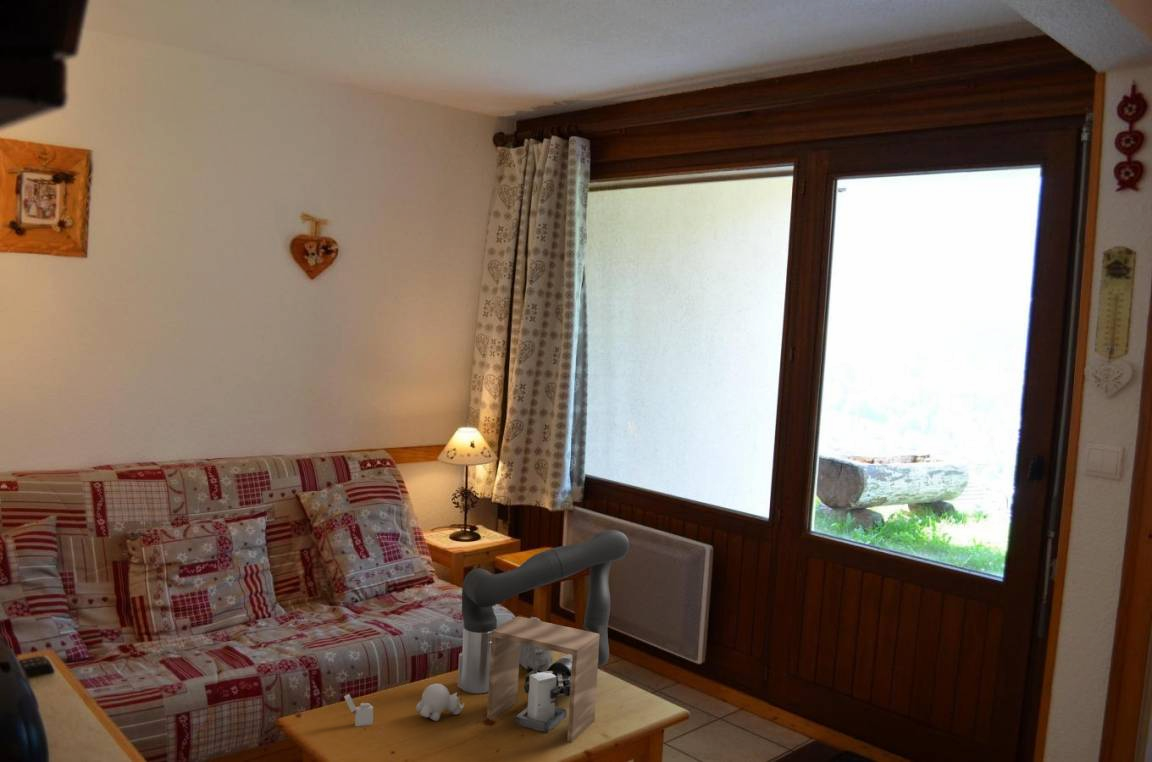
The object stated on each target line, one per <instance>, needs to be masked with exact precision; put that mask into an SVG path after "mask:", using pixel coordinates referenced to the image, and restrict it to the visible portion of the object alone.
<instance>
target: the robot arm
mask: <svg viewBox="0 0 1152 762" xmlns="http://www.w3.org/2000/svg"><path fill="white" fill-rule="evenodd" d="M629 549H630V541H629V538H628V537H627V535H626V534H625V533H623V532H621V531H619V530H616V529H608V530H601V531H599V532H597V533H595V534H594V535H593V537H592V539H590V540H587V541H583V542H580V543H574V544H566V545H562V546H558V547H553V548H550V549H546V550H544V551H540V552H538V553H534V555H532V556H530V557H528V558H527V559H526V560H525V561H524V562H523V563H522V564H521V565H520V566H518V567H515V568H514V569H512V570H508V571H505V572H500V573H495V574H494V573H491V572H490V571H488V570H486V569H485V568H474V569H472V570H470V571H469V572H468V573H467V574H466V576H465V577H464V579H463V583H462V589H461V590H462V591H461V616H462V620H463V629H462V630H463V632H462V651H461V652H460V653H459V655H458V668H457V669H458V671H457V673H458V674H457V688H460V689H461V690H462V691H464V692H466V693H470V694H485V693H488V690H489V671H490V653H491V634H492V630H494V629H496V628H498V627H497V623H498V620H497V617H496V615H495V612H494V609H493V607H494V606H496V605H499V604H500V603H502V602H505V601H507V600H508V599H511V598H514V597H515V596H517V595H519V594H522V593H525V592H528V591H531V590H534V589H537V588H539V587H542V586H546V585H549V584H552V583H555V582H558V581H561V580H563V579H566V578H569V577H570V576H573V575H575V574H577V573H580V572H582V571H584V570H586V569H588V568H589V587H588V594H587V595H588V596H587V603H586V608H585V613H584V619H583V628H584V629H585V631H589V632H593V633H598V634H600V638H599V655H598V668H601V667H603V666H606V664H607V662H608V660H609V658H610V648H609V647H610V646H609V639H608V638H609V637H608V625H609V619H610V612H611V594H610V593H611V592H610V586H609V578H610V577H609V575H610V569H611V565H612V562H616V561H619V560H621V559H622V558H624V557H625V556H626V555H627V553H628V551H629ZM571 670H572V655H570V654H566V655H563V656H562V657H559V658H558V660H556V661H555V662H552V665H551V666H550V667H549V669H548V670H547V671H549V672H550V673H552V674H553V675H555V676H556V677H557V678H556V687H555V688H554V689H552V690H551V692H550V699H554V698H555V699H557V698H559V696H563V695H565V696H566V697H570V687H571ZM538 671H539V670H537V669H531V671H530V672H529V673H527V674H526V675H525V683H524V689H523V691H524V693H527V694H529V680H530V675H532V674H537V673H538ZM547 671H545V672H547Z"/></svg>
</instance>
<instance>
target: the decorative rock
mask: <svg viewBox="0 0 1152 762" xmlns="http://www.w3.org/2000/svg"><path fill="white" fill-rule="evenodd" d="M528 618H529V619H533V620H538V621H541V620H540V618H538V617H534V616H531V617H528ZM553 652H554V651H553V650H548V649H544V648H539V647H535V646H531V645H526V644H522V643H520V656H519V665H521V666H522V667H523V668H524V669H525V670H527V671H529V670H534V669H537V670H538V671H543V672H546V671H547V670H548V669H549V667H550V666H551V665H552V664H553Z"/></svg>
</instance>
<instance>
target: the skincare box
mask: <svg viewBox="0 0 1152 762" xmlns="http://www.w3.org/2000/svg"><path fill="white" fill-rule="evenodd" d="M556 678H557V677H556V676H555V675H553V674H552V673H550V672H549V671H547V672H546V671H543V672H537V674H532V675H530V680H529V692H528V697H527V698H528V699H527V707H528V712H527V717H528V718H532V719H535V720H539V721H543V722H547V721H548V720H549V719H551V718H552V717H553V716H554V711H555V707H556V698H554V699H550V692H551V690H552V689H554V688H555V687H556Z"/></svg>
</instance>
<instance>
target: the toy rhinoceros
mask: <svg viewBox="0 0 1152 762" xmlns="http://www.w3.org/2000/svg"><path fill="white" fill-rule="evenodd" d="M457 694H458V692H457V691H456V692H454V693H453V694H450V691H449V689H448V688H447V687H446V686H445V685H444V684H441V683H432V684H430V685H427V686H426V688H425V689H424V691H423V692H422V695H421V700H420V701H418V703H417V704H416V707H415V709H416V711H417V712H419V714H420V716H421V717H424V718H429V719H430V720H432V721H435V722H437V721H439V720H440V718H441V715H442V712H443V711H445V710H446V711H448V712H450V713H451V714H452V715H454V716H456V715H460V713H461V712H462V710H463V708H464V707H465V706H464V705H465V702H463V703H462V704H461V701H460V699H461V696H457Z"/></svg>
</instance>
